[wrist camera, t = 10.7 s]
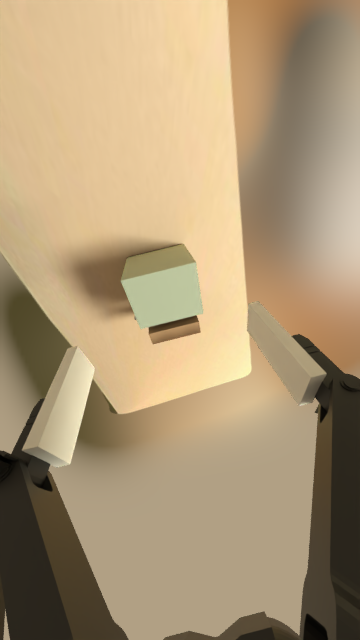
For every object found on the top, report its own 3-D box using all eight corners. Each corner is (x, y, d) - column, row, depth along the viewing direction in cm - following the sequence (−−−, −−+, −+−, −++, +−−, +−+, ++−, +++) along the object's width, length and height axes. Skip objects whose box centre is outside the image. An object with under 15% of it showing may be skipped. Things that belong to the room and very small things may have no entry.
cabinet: (122, 258, 35) (115, 282, 26) (183, 243, 35) (195, 262, 27) (146, 320, 44) (146, 354, 35) (194, 308, 44) (207, 339, 35)
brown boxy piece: (148, 303, 42) (148, 334, 33) (187, 293, 42) (198, 321, 33) (152, 315, 44) (154, 348, 35) (190, 306, 44) (201, 336, 35)
